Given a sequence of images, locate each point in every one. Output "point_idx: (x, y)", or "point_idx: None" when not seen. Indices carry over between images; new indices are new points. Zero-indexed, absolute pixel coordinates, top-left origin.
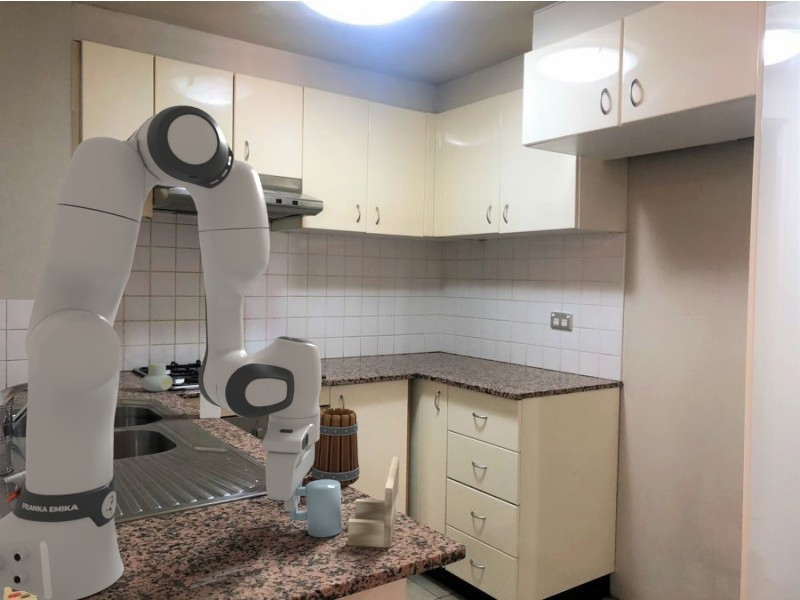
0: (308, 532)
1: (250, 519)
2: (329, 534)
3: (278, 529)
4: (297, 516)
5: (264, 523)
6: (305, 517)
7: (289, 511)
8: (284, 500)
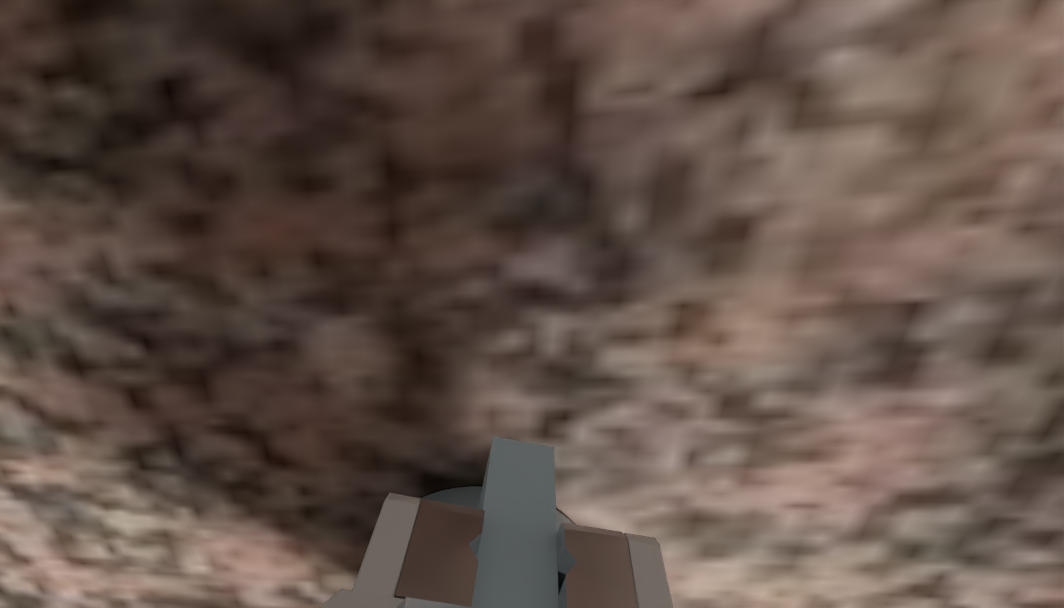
0: (434, 499)
1: (814, 9)
2: None
3: (527, 303)
4: None
5: (674, 176)
6: None
7: (488, 493)
8: (335, 600)
